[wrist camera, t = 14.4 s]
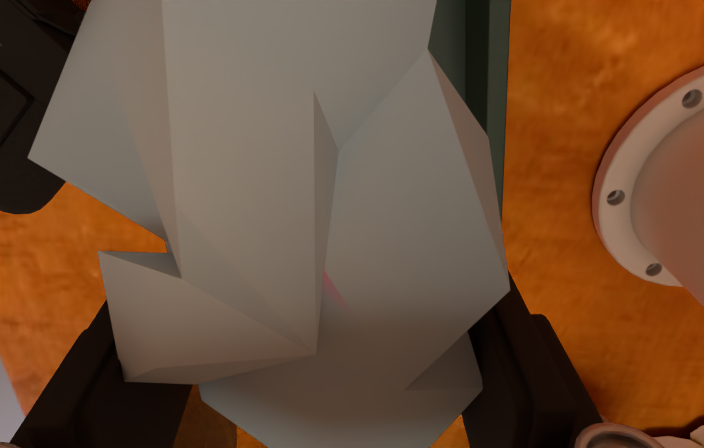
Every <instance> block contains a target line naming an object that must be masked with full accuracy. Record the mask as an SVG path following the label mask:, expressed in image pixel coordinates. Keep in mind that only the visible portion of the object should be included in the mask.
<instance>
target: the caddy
mask: <svg viewBox="0 0 704 448" xmlns="http://www.w3.org/2000/svg"><path fill="white" fill-rule="evenodd" d="M510 12H511V0H437V2H436V7H435V12H434V17H433V22H432V28H431V33H430V38H429V43H428V48H427V49H428V50H429V52H430V53H431V54H432V56H433V57H434V59H435V60H436V62H437V63H438V65H439V66H440V68H441V69H442V71H443V72H444V73H445V75H446V76H447V78H448V79H449V81H450V82H451V84H452V85H453V87H454V88H455V89H456V91H457V92H458V94H459V95H460V97H461V98H462V100H463V101H464V103H465V104H466V105H467V107H468V108H469V110H470V111H471V113H472V114H473V116H474V117H475V119H476V120H477V121H478V123H479V124H480V126H481V127H482V129H483V130H484V132H485V133H486V135H487V136H488V137H489V144H490V151H491V158H492V165H493V172H494V179H495V186H496V193H497V200H498V207H499V214H500V220H501V224H502V201H503V177H504V154H505V130H506V106H507V83H508V59H509V35H510Z"/></svg>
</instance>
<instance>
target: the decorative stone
mask: <svg viewBox="0 0 704 448" xmlns="http://www.w3.org/2000/svg"><path fill="white" fill-rule="evenodd" d="M236 446H237V432H236V424H234V423H233V422H232V421H230V420H229V419H227V418H226V417H224V416H223V415H222V414H220V413H219V412H217V411H216V410H215V409H213V408H212V407H210V406H209V405H208V404H206V403H205V402H203V401H202V399H201V395H200V391H199V386H198V384H193V386H192V389H191V392H190V395H189V399H188V402H187V405H186V408H185V411H184V414H183V417H182V420H181V423H180V426H179V429H178V432H177V435H176V438H175V441H174V444H173V447H172V448H236Z"/></svg>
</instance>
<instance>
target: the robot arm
mask: <svg viewBox="0 0 704 448" xmlns="http://www.w3.org/2000/svg"><path fill="white" fill-rule="evenodd" d="M592 217H593V221H594V225H595V228H596V232H597V235H598V236H599V238H600V240H601V241H602V243H603V245H604V247H605V248H606V250H607V251H608V252H609V253H610V254H611V255H612V256H613V258H614V259H615V260H616V261H617V262H618V263H619V264H620V265H621V266H623V267H624V268H625V269H626V270H628V271H629V272H630V273H631V274H633V275H635V276H637V277H639V278H641V279H643V280H646V281H649V282H653V283H658V284H662V285H666V286H681V287H684V288H685V289H686V290H687V291H688V292H689V293H690V294H691V295H692V296H693V297H694V298H695V299H696V300H697V301H698V302H699V303H700V304H701V305H702V306H703V307H704V66H703V67H700V68H698V69H696V70H694V71H692V72H690V73H688V74H686V75H683V76H681V77H680V78H678V79H677V80H675V81H674V82H672V83H671V84H669V85H668V86H666V87H665V88H663V89H662V90H660V91H659V92H657V93H656V94H655V95H654V96H652V97H651V98H650V99H649V100H648V101H647V102H646V103H645V104H643V105H642V106H641V107H640V108H639V109H638V110H637V111H635V113H634V114H633V115H632V116H631V117H630V119H629V120H628V121H627V122H626V123H625V124H624V126H623V127H622V128H621V129H620V130H619V132H618V133H617V134H616V136H615V138H614V139H613V141H612V143H611V144H610V146H609V148H608V149H607V151H606V152H605V154H604V157H603V159H602V162H601V164H600V167H599V169H598V172H597V174H596V177H595V182H594V188H593V193H592ZM508 276H509V283H510V291H509V292H508V293H507V294H506V295H505V296H504V297H503V298H501V299H500V300H499V301H498V302H497V303H496V304H495V305H494V306H493V307H492V308H491V309H490V310H489V311H488V312H487V313H485V314H484V315H483V316H482V317H481V318H480V319H479V320H478V321H477V322H476V323H475V324H474V325H473V326H472V327H471V328H470V329H468V330H467V331H468V334H469V338H470V341H471V344H472V347H473V351H474V354H475V357H476V360H477V364H478V367H479V370H480V374H481V377H482V385H483V389H482V391H481V392H480V393H479V394H478V395H477V397H476V398H475V399H474V400H473V401H472V402H471V403H470V404H469V405H468V406H467V407H466V408H465V410H464V411H463V412H462V413H461V414H462V418H463V422H464V425H465V429H466V433H467V437H468V441H469V445H470V448H665V447H664V446H662V445H661V444H660V443H659V442H658V441H657V440H655V439H654V438H652V437H650V436H649V435H647V434H645V433H643V432H642V431H640V430H638V429H635V428H632V427H629V426H626V425H623V424H616V423H608V422H606V423H604V422H603V420H602V418H601V416H600V414H599V412H598V411H597V409H596V407H595V405H594V403H593V401H592V400H591V398H590V396H589V394H588V392H587V390H586V389H585V387H584V385H583V383H582V381H581V379H580V377H579V376H578V374H577V372H576V370H575V368H574V366H573V365H572V363H571V361H570V359H569V357H568V355H567V354H566V352H565V350H564V348H563V346H562V344H561V343H560V341H559V339H558V337H557V335H556V333H555V332H554V330H553V328H552V326H551V324H550V322H549V321H548V319H547V318H546V317H545V316H544V315H542V314H532V315H530V313H529V311H528V309H527V307H526V305H525V303H524V301H523V299H522V297H521V295H520V293H519V291H518V289H517V287H516V285H515V283H514V281H513V279H512V277H511V275H510V273H509V271H508ZM192 386H193V384H171V383H147V382H125V381H124V378H123V373H122V368H121V363H120V360H119V359H118V354H117V349H116V344H115V339H114V334H113V329H112V324H111V318H110V313H109V308H108V303H107V300H106V301H105V303H104V304H103V306H102V307H101V309H100V310H99V312H98V314H97V315H96V317H95V318H94V320H93V321H92V323H91V324H90V326H89V327H88V329H86V330H84V331H83V332H82V333H81V334H80V336H79V337H78V338H77V340H76V342H75V343H74V345H73V346H72V348H71V349H70V351H69V352H68V354H67V355H66V357H65V358H64V360H63V361H62V363H61V364H60V366H59V368H58V369H57V371H56V372H55V374H54V375H53V377H52V378H51V380H50V381H49V383H48V384H47V386H46V387H45V389H44V390H43V392H42V393H41V395H40V397H39V398H38V400H37V401H36V403H35V404H34V406H33V407H32V409H31V410H30V412H29V413H28V415H27V416H26V418H25V419H24V421H23V423H22V424H21V426H20V427H19V429H18V430H17V432H16V433H15V435H14V436H13V438H12V440H11V441H10V442H9V443H5V442H0V448H172V447H173V444H174V441H175V438H176V435H177V432H178V429H179V426H180V423H181V420H182V417H183V414H184V411H185V408H186V405H187V402H188V399H189V395H190V392H191V389H192Z"/></svg>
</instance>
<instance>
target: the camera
mask: <svg viewBox="0 0 704 448" xmlns="http://www.w3.org/2000/svg"><path fill="white" fill-rule="evenodd" d="M85 13H86V11H84V10H83V11H82V10H81V9H80V8H79V7H78V6H77V5H76V4H74V3H73V2H72V1H71V0H0V211H3V212H7V213H12V214H30V213H33V212H35V211H37V210H40V209H41V208H42V207H43V206H45V205H46V204H47V203H48V202H49V201H50V200H51V199H52V198H53V197H54V196H55V194H56V193H57V192H58V191H59V189H60V188H61V187H62V186H63V185H64V183H65V182H66V181H65V180H64V179H62V178H60V177H59V176H57V175H55V174H54V173H52V172H50V171H49V170H47V169H45V168H43V167H42V166H40V165H38V164H37V163H35V162H33V161H32V160H30V159H28V155H29V153H30V150H31V148H32V145H33V143H34V140H35V138H36V135H37V133H38V130H39V128H40V125H41V123H42V120H43V118H44V115H45V113H46V110H47V108H48V105H49V103H50V100H51V98H52V95H53V93H54V91H55V88H56V86H57V83H58V81H59V78H60V76H61V73H62V71H63V68H64V66H65V63H66V61H67V58H68V56H69V53H70V51H71V48H72V46H73V43H74V41H75V38H76V36H77V33H78V31H79V28H80V26H81V23H82V21H83V18H84V16H85Z"/></svg>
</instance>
